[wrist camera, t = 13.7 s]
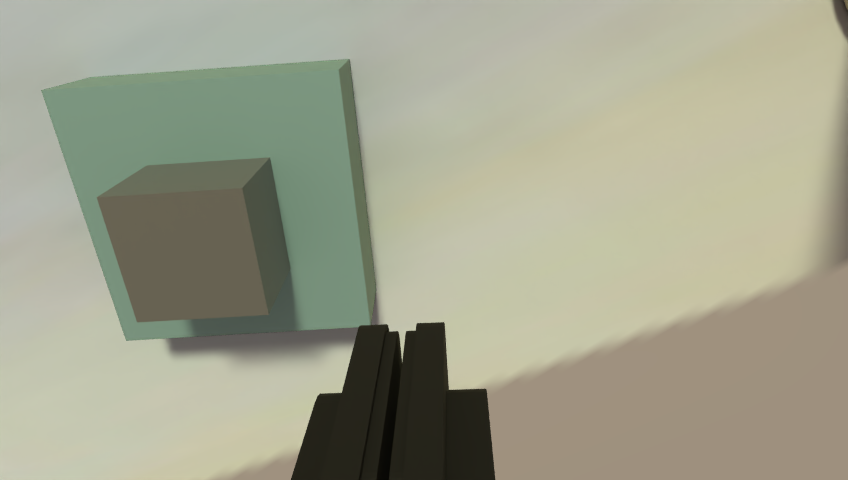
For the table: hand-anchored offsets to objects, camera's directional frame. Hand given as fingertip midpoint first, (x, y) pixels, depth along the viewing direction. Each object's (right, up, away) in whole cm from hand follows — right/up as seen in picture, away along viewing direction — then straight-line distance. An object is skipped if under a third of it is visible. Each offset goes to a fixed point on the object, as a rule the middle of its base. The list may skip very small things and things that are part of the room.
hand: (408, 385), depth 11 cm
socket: (-11, +6, +24) cm, 27 cm away
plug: (-11, +6, +23) cm, 26 cm away
